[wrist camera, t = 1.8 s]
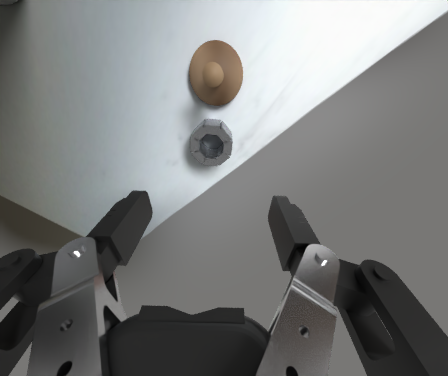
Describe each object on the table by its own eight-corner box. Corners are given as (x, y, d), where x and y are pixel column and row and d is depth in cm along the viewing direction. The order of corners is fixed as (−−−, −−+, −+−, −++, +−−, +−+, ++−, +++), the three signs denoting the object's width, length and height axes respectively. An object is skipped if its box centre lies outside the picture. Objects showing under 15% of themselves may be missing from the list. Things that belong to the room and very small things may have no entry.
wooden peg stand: (200, 110, 24) (191, 122, 18) (182, 52, 21) (162, 40, 14) (246, 96, 23) (254, 104, 17) (235, 33, 20) (241, 10, 13)
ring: (211, 161, 29) (210, 172, 26) (187, 136, 27) (181, 144, 23) (238, 140, 27) (240, 149, 24) (214, 110, 24) (212, 115, 21)
